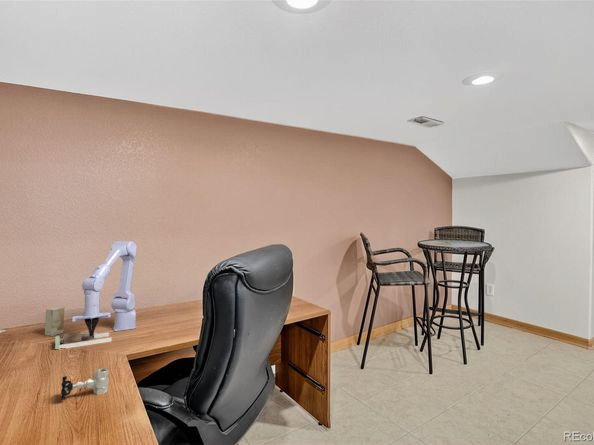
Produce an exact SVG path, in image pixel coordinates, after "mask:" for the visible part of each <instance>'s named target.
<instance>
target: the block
mask: <svg viewBox="0 0 594 445" xmlns="http://www.w3.org/2000/svg"><path fill="white" fill-rule="evenodd" d="M81 333H82V332H81V331H72V332H67V333H63V339H64V341H63V343H62V345H63V344H70V343H77V342H82V339H81Z"/></svg>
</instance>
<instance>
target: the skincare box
mask: <svg viewBox="0 0 594 445" xmlns="http://www.w3.org/2000/svg"><path fill="white" fill-rule="evenodd" d="M64 323H65V307H64V306H63V307H62V306H56V307H50V308H46V309H45V323H44V324H45V325H44V326H45V328H44V336H49V337H53V336H58V335H60V334H64V325H65V324H64Z"/></svg>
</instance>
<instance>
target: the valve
mask: <svg viewBox="0 0 594 445" xmlns="http://www.w3.org/2000/svg"><path fill="white" fill-rule="evenodd" d="M93 375H94V376H93V377H94V378H92V377H89V378H87V380H85V381H84V382H83V381H78V382H76V383H73V382H72V381H71V380H68V375H66V376H62V377H61V378H62V380H61V391H60V400H61V401H64V400H66V399H67V396H68V395H71V392H72V391H73V390H74V389H75V388H76V390H77V389H82V388H83V387H84V388H86V389H87V390H89V389H90V390H91V388H93V394H95V395H96V396H97V395H102V394H106V393H107V391H108V390H109V382H110V379H109V368H107V367H102V368H98V369H96V370H95V371H94V373H93Z"/></svg>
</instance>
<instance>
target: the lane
mask: <svg viewBox="0 0 594 445" xmlns="http://www.w3.org/2000/svg"><path fill="white" fill-rule="evenodd" d="M80 333H81V340H84V341H81V342H77V343H70V344H63V341H64V338H61V337H60V335H55V340H54V344H55V345H54V346H55V347H54V350H55V349H59V350H61V349H60V348H66V349H70V348H77V347H84V346H90V345H97V344H104V343H110V342H112V338H113V337H110V332H102V333H98V331H94V334H93V336H89V331H88V332H80ZM93 338H94V339H93ZM86 339H90V340H86Z"/></svg>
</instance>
